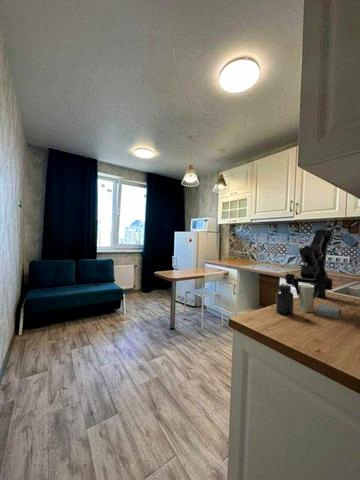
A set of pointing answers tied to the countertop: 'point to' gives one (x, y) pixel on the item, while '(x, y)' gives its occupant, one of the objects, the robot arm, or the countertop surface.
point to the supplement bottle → (284, 300)
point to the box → (306, 298)
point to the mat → (327, 311)
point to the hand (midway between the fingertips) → (305, 296)
